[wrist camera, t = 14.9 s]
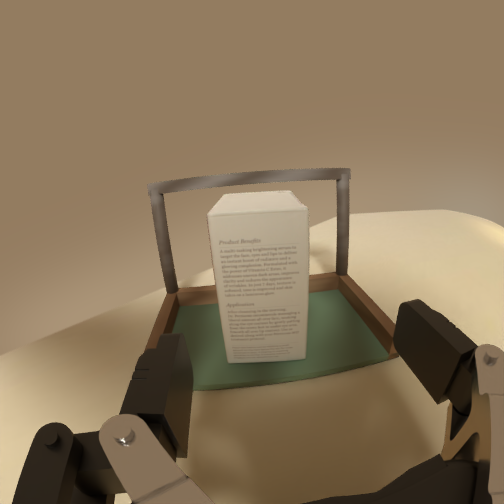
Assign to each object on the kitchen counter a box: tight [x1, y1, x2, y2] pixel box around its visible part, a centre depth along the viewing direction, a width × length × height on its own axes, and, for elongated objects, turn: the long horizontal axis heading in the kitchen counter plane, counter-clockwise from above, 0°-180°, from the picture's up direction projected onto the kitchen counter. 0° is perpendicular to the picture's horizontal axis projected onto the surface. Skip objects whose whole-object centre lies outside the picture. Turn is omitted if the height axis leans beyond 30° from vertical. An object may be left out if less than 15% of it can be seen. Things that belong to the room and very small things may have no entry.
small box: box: [207, 191, 309, 364], centre depth 20 cm, size 8×6×10 cm
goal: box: [144, 168, 399, 390], centre depth 20 cm, size 18×12×12 cm, turn 95°
